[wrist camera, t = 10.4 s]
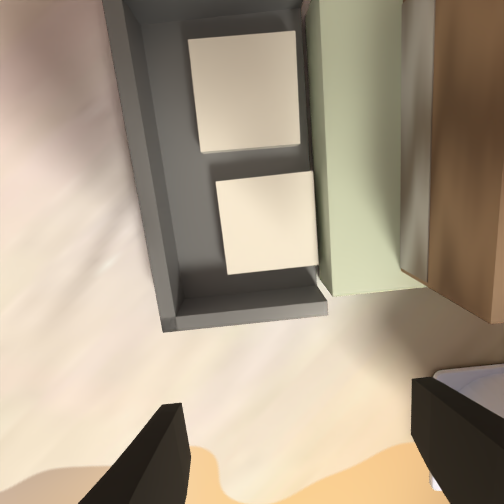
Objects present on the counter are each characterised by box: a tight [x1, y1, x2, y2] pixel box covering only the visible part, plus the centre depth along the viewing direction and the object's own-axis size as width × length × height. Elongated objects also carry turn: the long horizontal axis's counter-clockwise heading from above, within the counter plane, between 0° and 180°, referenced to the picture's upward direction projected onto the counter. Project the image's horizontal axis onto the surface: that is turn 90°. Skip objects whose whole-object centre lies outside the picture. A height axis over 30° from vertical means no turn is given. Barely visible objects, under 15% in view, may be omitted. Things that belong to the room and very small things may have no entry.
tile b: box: [188, 31, 300, 154], centre depth 16 cm, size 5×5×1 cm
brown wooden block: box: [400, 0, 504, 324], centre depth 12 cm, size 12×3×6 cm, turn 6°
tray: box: [102, 0, 328, 333], centre depth 16 cm, size 16×9×3 cm, turn 6°
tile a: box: [216, 171, 319, 275], centre depth 17 cm, size 5×5×1 cm
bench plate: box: [305, 0, 427, 297], centre depth 16 cm, size 14×10×3 cm
